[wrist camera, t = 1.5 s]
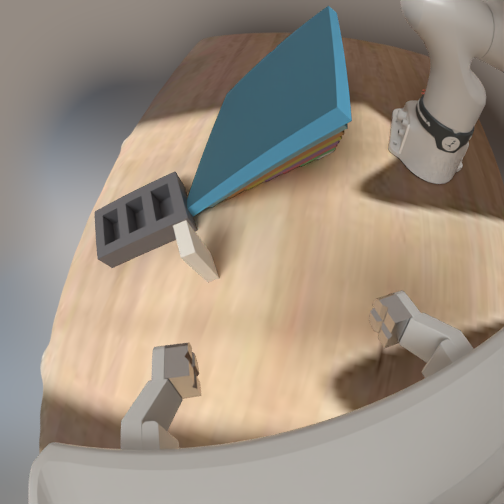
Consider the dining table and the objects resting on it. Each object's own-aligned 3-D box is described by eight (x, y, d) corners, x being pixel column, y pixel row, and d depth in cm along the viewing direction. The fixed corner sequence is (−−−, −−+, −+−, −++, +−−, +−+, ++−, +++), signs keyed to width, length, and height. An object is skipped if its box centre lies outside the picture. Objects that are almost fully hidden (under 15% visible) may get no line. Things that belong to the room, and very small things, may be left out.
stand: (107, 222, 54) (94, 211, 49) (184, 186, 54) (175, 171, 49) (112, 267, 50) (97, 259, 45) (197, 230, 50) (187, 217, 45)
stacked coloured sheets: (257, 245, 59) (417, 195, 31) (182, 212, 50) (337, 107, 22) (279, 128, 71) (385, 63, 43) (226, 94, 62) (328, 5, 34)
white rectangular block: (200, 256, 48) (172, 225, 37) (210, 252, 48) (186, 220, 37) (208, 282, 46) (181, 257, 35) (219, 278, 46) (195, 252, 35)
